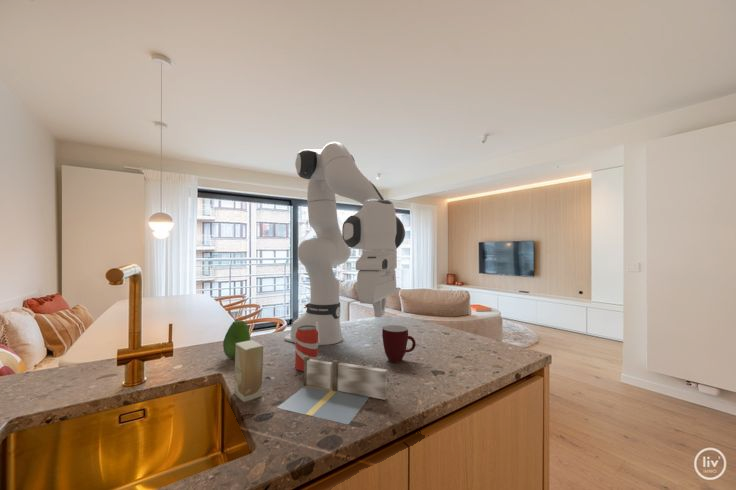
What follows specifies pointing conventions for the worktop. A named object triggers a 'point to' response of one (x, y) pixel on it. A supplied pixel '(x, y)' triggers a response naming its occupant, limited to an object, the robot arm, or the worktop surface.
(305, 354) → the beverage can
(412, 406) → the worktop surface
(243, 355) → the skincare box
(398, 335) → the mug
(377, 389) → the fence panel
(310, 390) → the card
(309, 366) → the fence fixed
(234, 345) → the fruit
